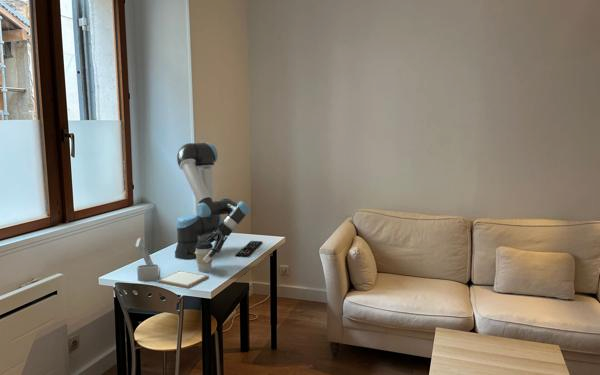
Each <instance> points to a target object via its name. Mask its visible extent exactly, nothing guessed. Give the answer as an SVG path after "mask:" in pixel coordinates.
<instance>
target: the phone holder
mask: <svg viewBox="0 0 600 375" xmlns="http://www.w3.org/2000/svg"><path fill="white" fill-rule="evenodd" d="M135 249H136V251H137V253H138V254H139V255H140V256H141V257H142V259H143V260H144V262H145V264H142V265H138V266H137V267H136V268H137V269H136V272H137V281H150V280H153V281H154V280H160V279H159V278H160V271H161V270H160V269H161V267H160V266H159V265H158V264H156V263H155V264H154V262H153V260H152V258H151V256H150V253H149V252H148V249H147V247H146V245H145V243H144V240H143V238H142V237H139V238H137V240H136V242H135Z"/></svg>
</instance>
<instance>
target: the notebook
mask: <svg viewBox="0 0 600 375" xmlns="http://www.w3.org/2000/svg"><path fill="white" fill-rule="evenodd" d="M207 279H209V275H206V274H205V275H204V274H200V273H194V272H189V271H182V270H178V271H176V272H174V273H171V274H169V275H166V276H165V277H162V278H160V279H157V284H164V285H168V286H174V287H180V288H184V289H190V288H191V286H192V287H193V285H194V286H196V285H197V284H200V283H201V282H203V281H205V280H207ZM195 284H196V285H195Z"/></svg>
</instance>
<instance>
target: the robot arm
mask: <svg viewBox="0 0 600 375" xmlns="http://www.w3.org/2000/svg"><path fill="white" fill-rule="evenodd" d="M218 154H219V153H218V150H217V147H216V146H215V145H214V144H212V143H210V142H195V143H192V142H191V143H186V144H183V145H181V147H180V148H179V149H178V151H177V155H176V161H177V165H178V167H179V169H180V170H182V171H183V173H184V175H185V178H186V181H188V185H189V186H190V189H191V190H192V193H193V195H194V197H195V199H196V201H197V205H196V213H197V214H196V213H191V214H184V215H181V216H179V217H178V218H177V220H176V229H177V230H176V231H177V245H176V246H175V247H176V248H175V252H174V258H177V259H179V260H192V259H193V260H194V259H197V258H196V248H195V247H196V245H197V243H198V236H202V235H208V234H210V235H209V236H208V237H206V238H205V239H204V240H203V241H210V242H211V244H212V243H213V242H214V245H213V247H212V249H211V251H210V252H209V253H208V254H207V255H206V257H205V258H204V259H203V260H204V261H205V262H206V263H208V261H209V260H210V259H211V258H212V259H213V257H214V256H215V255H216V254H219V253H220V252H221V249H222V248H223V245H224V244H225V242H226V240H227V239H228V237H229V236H230V235H231V233H233V231H234V230H235V229H236V228H237V226H238V225H240V223H241V222H242V220H244V219H245V217H246V216H247V215H248V213H250V210H251V208H250V206H249V205H248V204H247V203H246V202H244V201H243V200H240V201H239V202H235V201H234V200H232V199H231V198H228V197H222V198H220V199H219V200H217V201H215V192H214V179H213V168H214V166H215V163H216V162H217V160H218V158H219V157H218ZM222 215H227V216H225V218H224V219H223V217H222Z"/></svg>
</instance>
